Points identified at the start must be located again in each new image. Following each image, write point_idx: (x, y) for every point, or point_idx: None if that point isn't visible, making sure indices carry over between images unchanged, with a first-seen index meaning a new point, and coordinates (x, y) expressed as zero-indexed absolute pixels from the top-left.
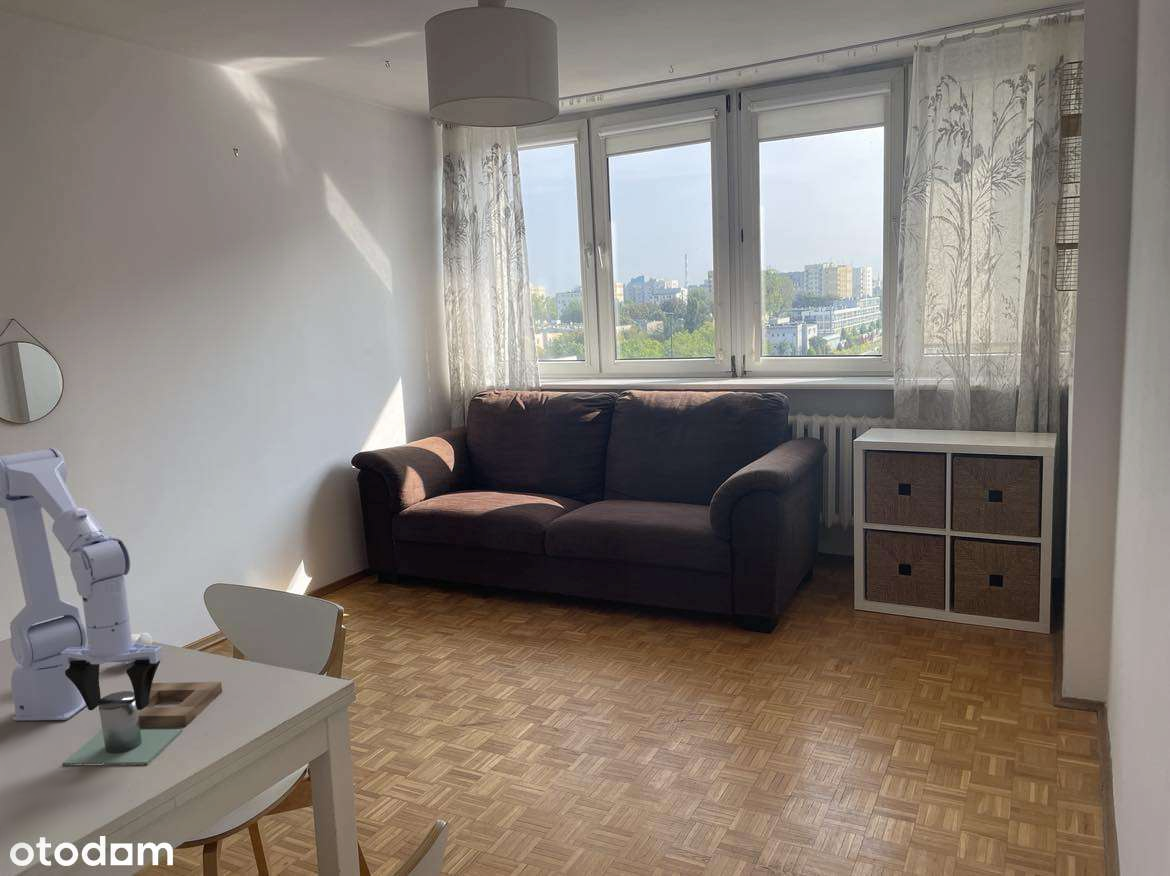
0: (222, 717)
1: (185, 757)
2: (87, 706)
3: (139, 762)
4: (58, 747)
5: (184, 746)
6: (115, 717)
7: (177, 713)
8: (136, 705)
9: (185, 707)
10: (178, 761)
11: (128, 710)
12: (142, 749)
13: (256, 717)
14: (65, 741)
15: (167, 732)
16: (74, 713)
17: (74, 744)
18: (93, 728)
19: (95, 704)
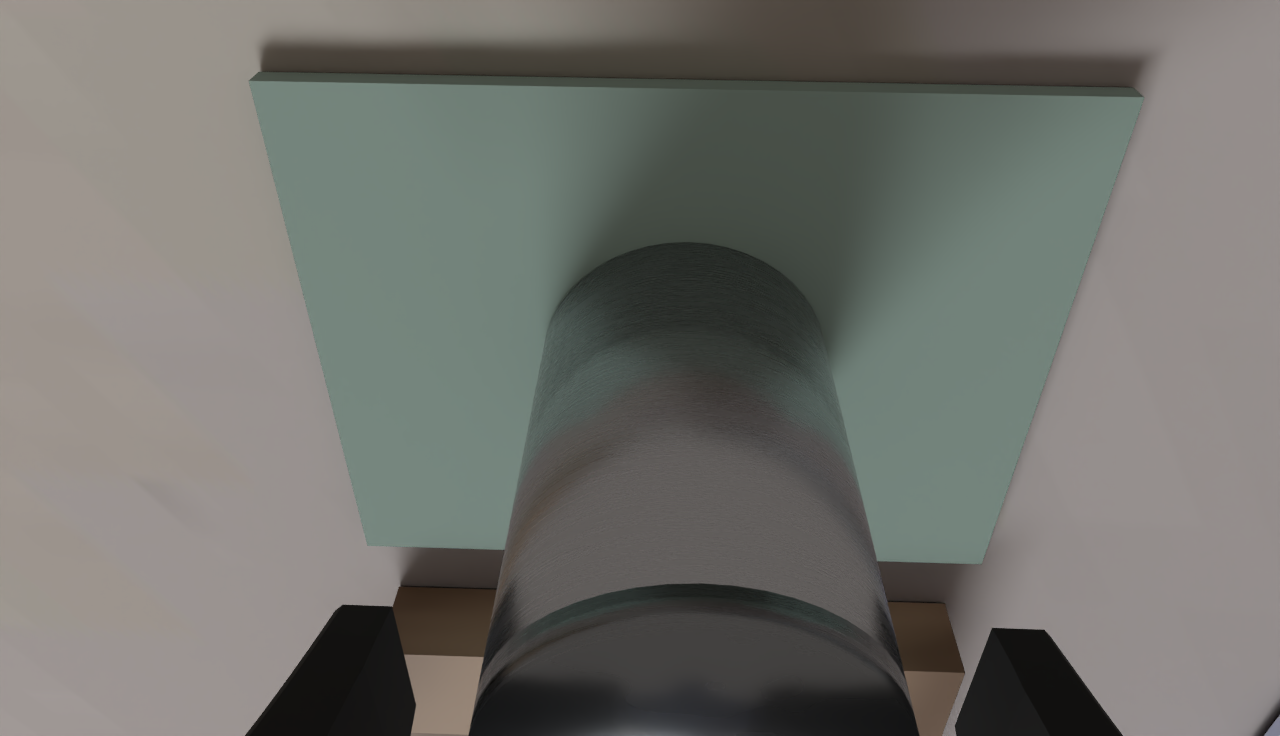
0: (235, 655)
1: (14, 189)
2: (1066, 671)
3: (329, 79)
4: (1268, 385)
5: (184, 352)
6: (615, 497)
7: (457, 676)
8: (362, 651)
9: (456, 729)
10: (14, 123)
11: (502, 600)
12: (470, 299)
13: (7, 643)
14: (1234, 460)
15: (446, 513)
16: (1271, 734)
17: (1142, 419)
18: (1072, 595)
19: (987, 709)
